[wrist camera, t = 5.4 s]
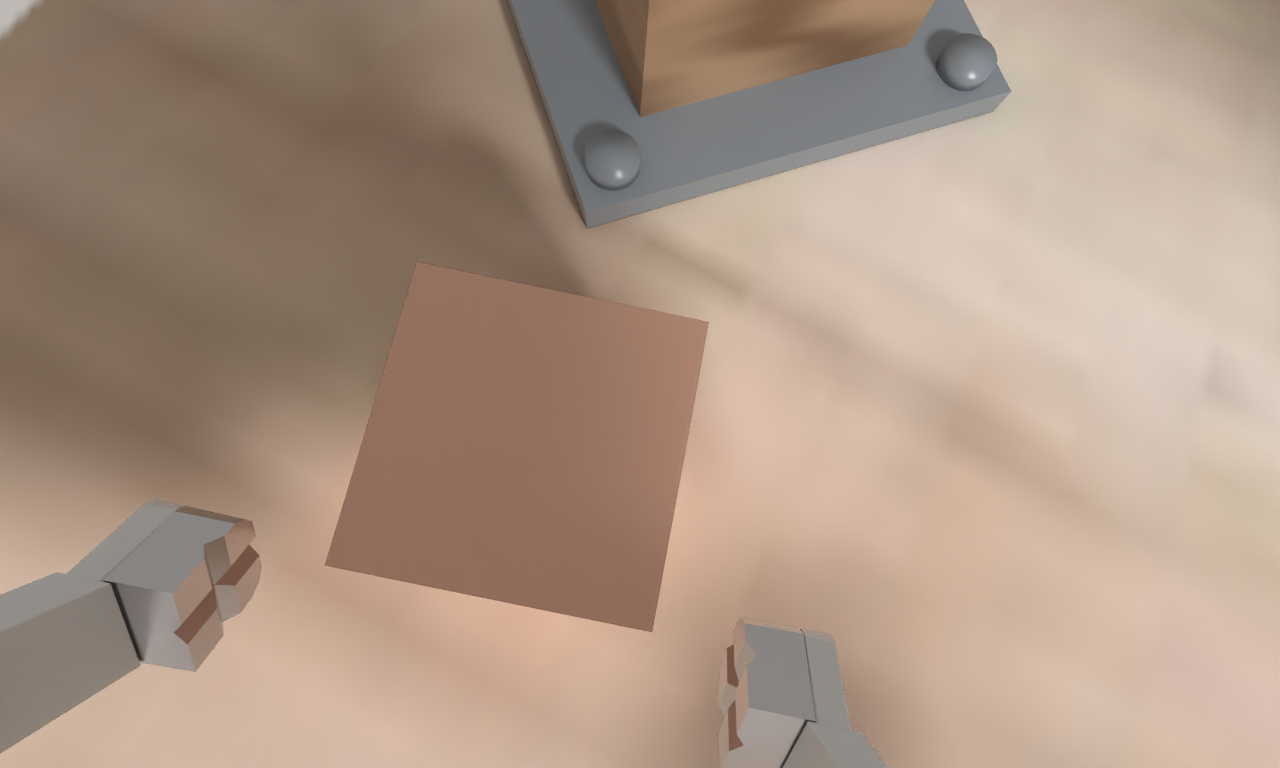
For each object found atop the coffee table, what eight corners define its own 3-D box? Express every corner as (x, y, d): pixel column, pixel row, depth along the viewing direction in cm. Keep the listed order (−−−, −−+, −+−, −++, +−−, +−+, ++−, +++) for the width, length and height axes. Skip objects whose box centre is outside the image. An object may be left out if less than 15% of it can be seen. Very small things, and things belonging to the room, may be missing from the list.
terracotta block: (495, 377, 19) (416, 261, 11) (666, 411, 19) (709, 322, 11) (448, 553, 18) (325, 565, 10) (631, 590, 18) (652, 632, 10)
